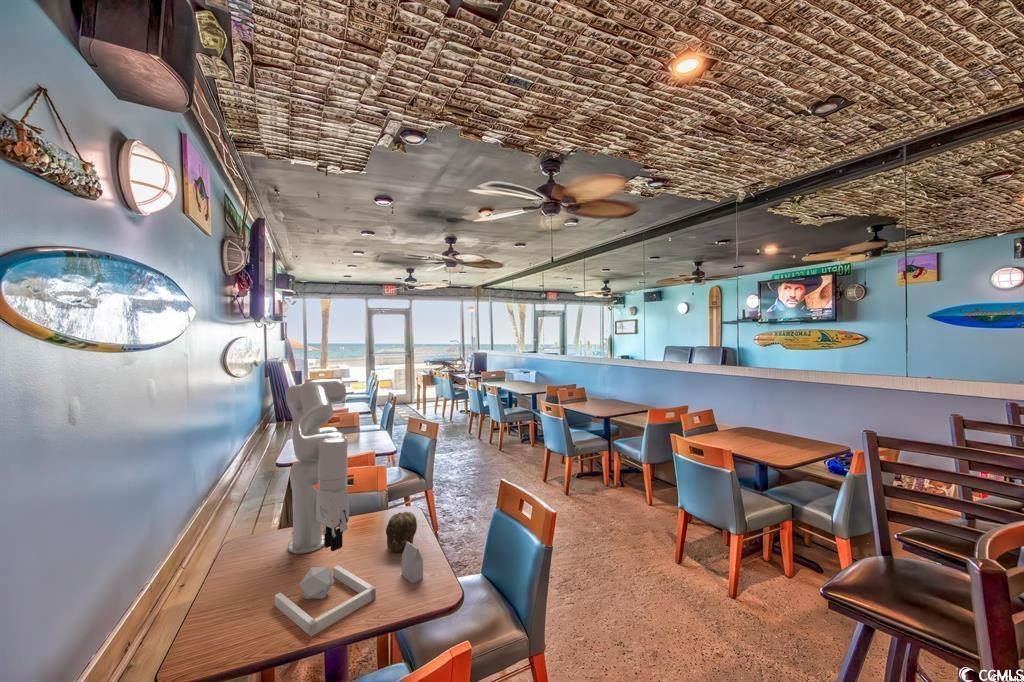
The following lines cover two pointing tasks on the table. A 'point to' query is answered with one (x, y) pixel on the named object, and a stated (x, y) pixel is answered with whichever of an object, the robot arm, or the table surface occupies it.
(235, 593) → the table surface
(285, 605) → the bay
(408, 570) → the grey faceted angular block
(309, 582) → the die
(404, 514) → the shell
